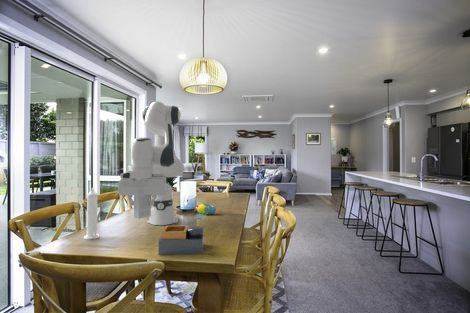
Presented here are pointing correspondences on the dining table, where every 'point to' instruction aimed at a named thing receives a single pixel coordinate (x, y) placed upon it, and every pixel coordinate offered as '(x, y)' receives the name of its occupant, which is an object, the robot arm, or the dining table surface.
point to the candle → (91, 216)
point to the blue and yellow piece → (204, 210)
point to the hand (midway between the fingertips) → (142, 205)
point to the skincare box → (142, 205)
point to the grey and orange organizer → (181, 240)
